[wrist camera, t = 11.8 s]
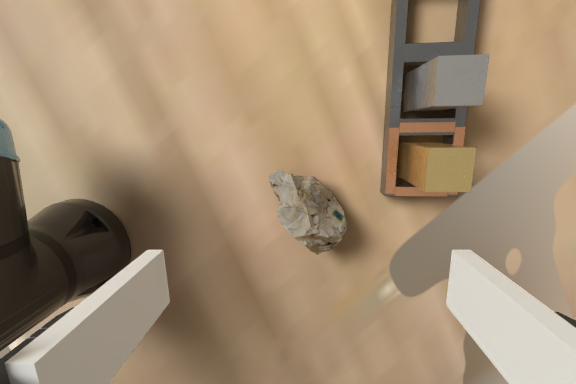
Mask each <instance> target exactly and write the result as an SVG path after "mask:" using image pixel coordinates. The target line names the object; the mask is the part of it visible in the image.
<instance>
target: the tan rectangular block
mask: <svg viewBox="0 0 576 384" xmlns="http://www.w3.org/2000/svg"><path fill="white" fill-rule="evenodd" d="M476 149H477V148H476V147H468V146H460V145H452V144H445V143H437V142H404V143H400V150H399V163H398V176H399V177H400V178H402V179H404V180H406V181H407V182H409V183H411V184H412V185H414V186H416V187H417V188H419V189H421V190H423V191H424V192H471V187H472V179H473V171H474V164H475V156H476Z"/></svg>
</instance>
